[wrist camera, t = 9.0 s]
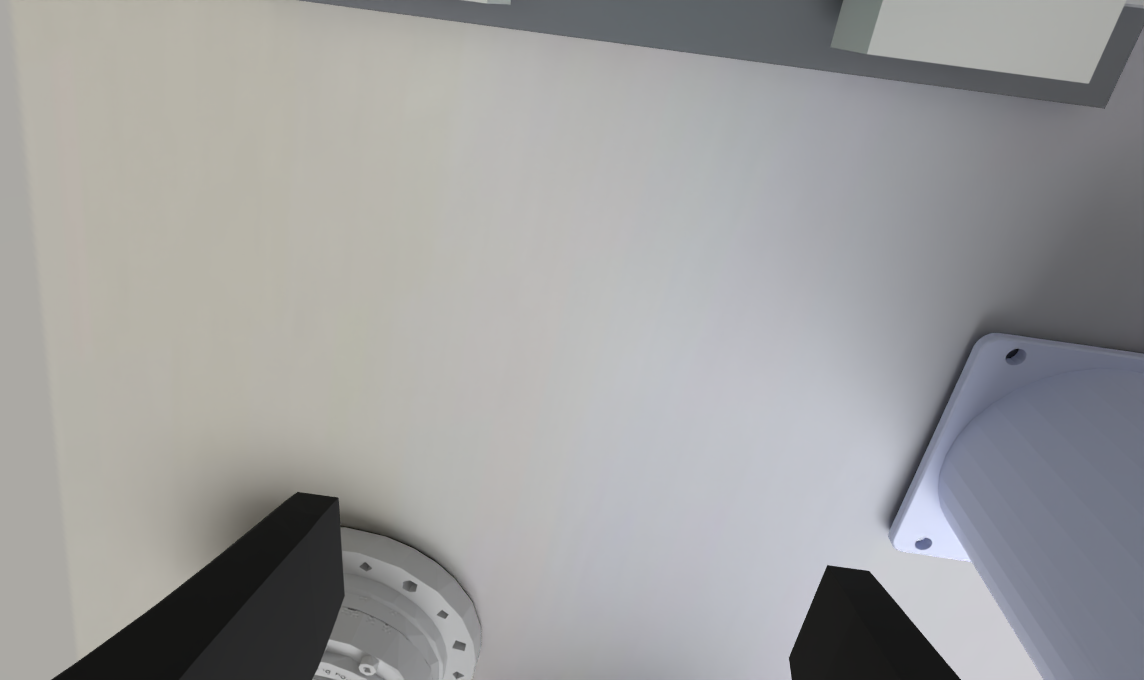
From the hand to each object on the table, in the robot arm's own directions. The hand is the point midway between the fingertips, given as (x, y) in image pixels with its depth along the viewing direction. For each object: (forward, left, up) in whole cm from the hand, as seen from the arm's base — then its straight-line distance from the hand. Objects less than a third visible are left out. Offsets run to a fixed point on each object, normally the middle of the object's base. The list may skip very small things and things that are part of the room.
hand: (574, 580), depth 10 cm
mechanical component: (+8, +15, -11) cm, 20 cm away
